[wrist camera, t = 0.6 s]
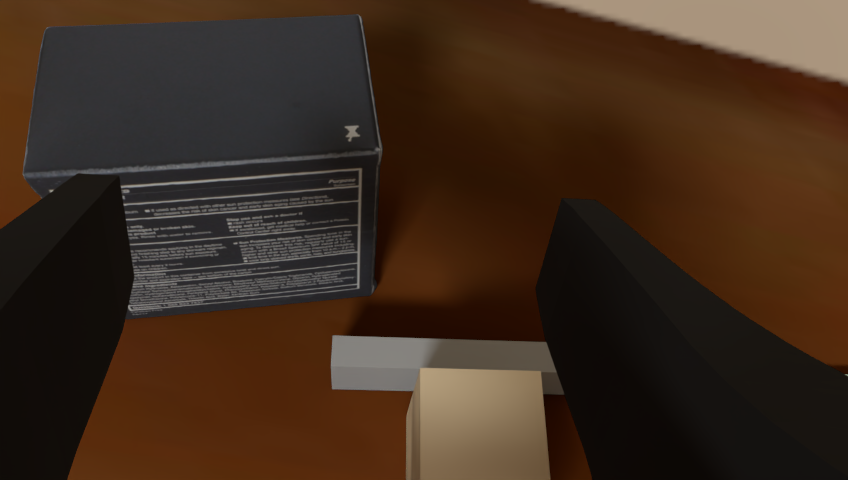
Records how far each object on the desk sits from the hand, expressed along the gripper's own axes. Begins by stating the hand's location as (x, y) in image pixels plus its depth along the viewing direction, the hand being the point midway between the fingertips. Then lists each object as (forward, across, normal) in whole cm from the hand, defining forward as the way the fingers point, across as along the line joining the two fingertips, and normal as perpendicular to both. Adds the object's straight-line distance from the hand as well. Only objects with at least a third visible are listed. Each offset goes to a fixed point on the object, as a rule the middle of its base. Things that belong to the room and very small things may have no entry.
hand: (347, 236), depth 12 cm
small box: (+16, +3, +12) cm, 20 cm away
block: (+5, -5, +17) cm, 18 cm away
